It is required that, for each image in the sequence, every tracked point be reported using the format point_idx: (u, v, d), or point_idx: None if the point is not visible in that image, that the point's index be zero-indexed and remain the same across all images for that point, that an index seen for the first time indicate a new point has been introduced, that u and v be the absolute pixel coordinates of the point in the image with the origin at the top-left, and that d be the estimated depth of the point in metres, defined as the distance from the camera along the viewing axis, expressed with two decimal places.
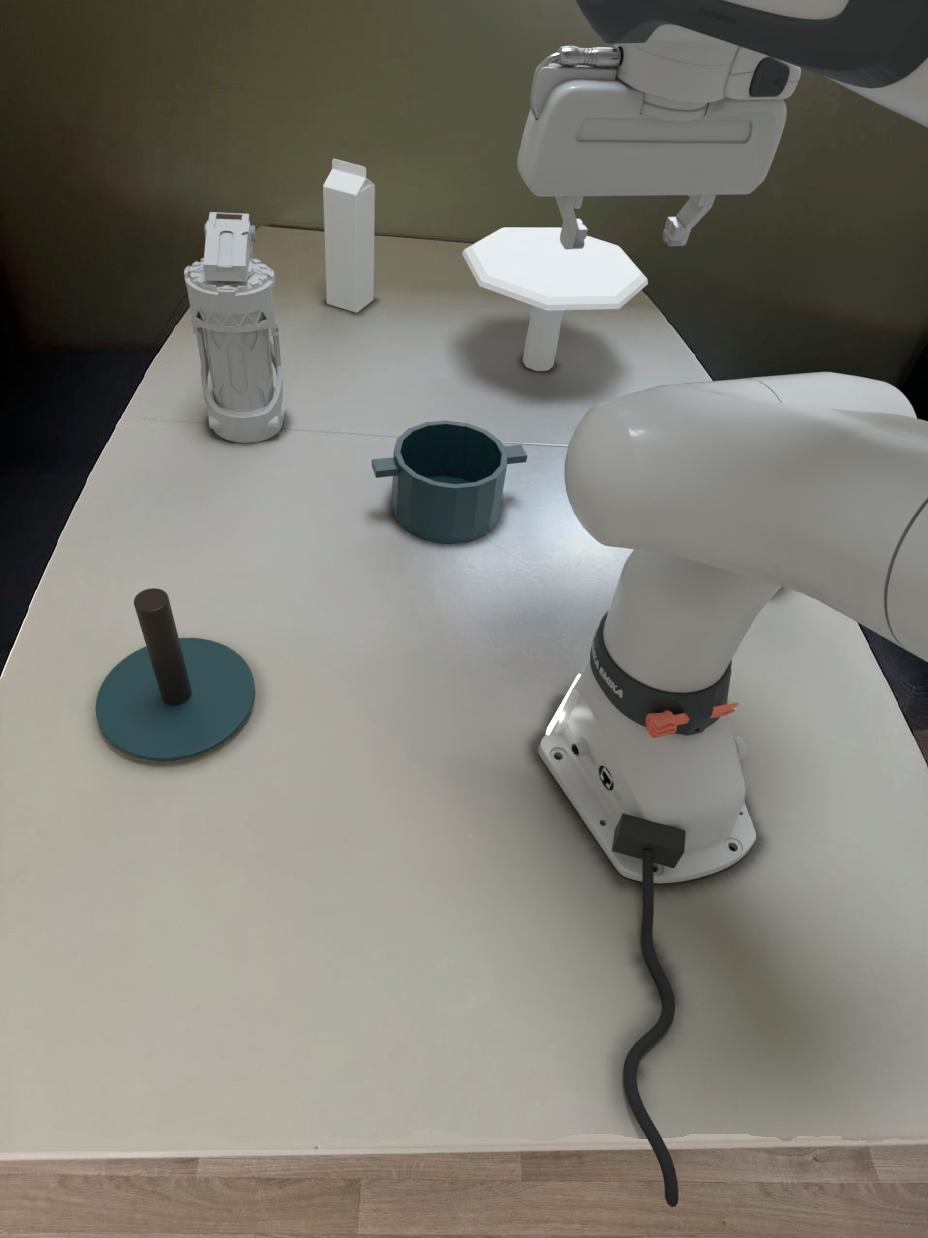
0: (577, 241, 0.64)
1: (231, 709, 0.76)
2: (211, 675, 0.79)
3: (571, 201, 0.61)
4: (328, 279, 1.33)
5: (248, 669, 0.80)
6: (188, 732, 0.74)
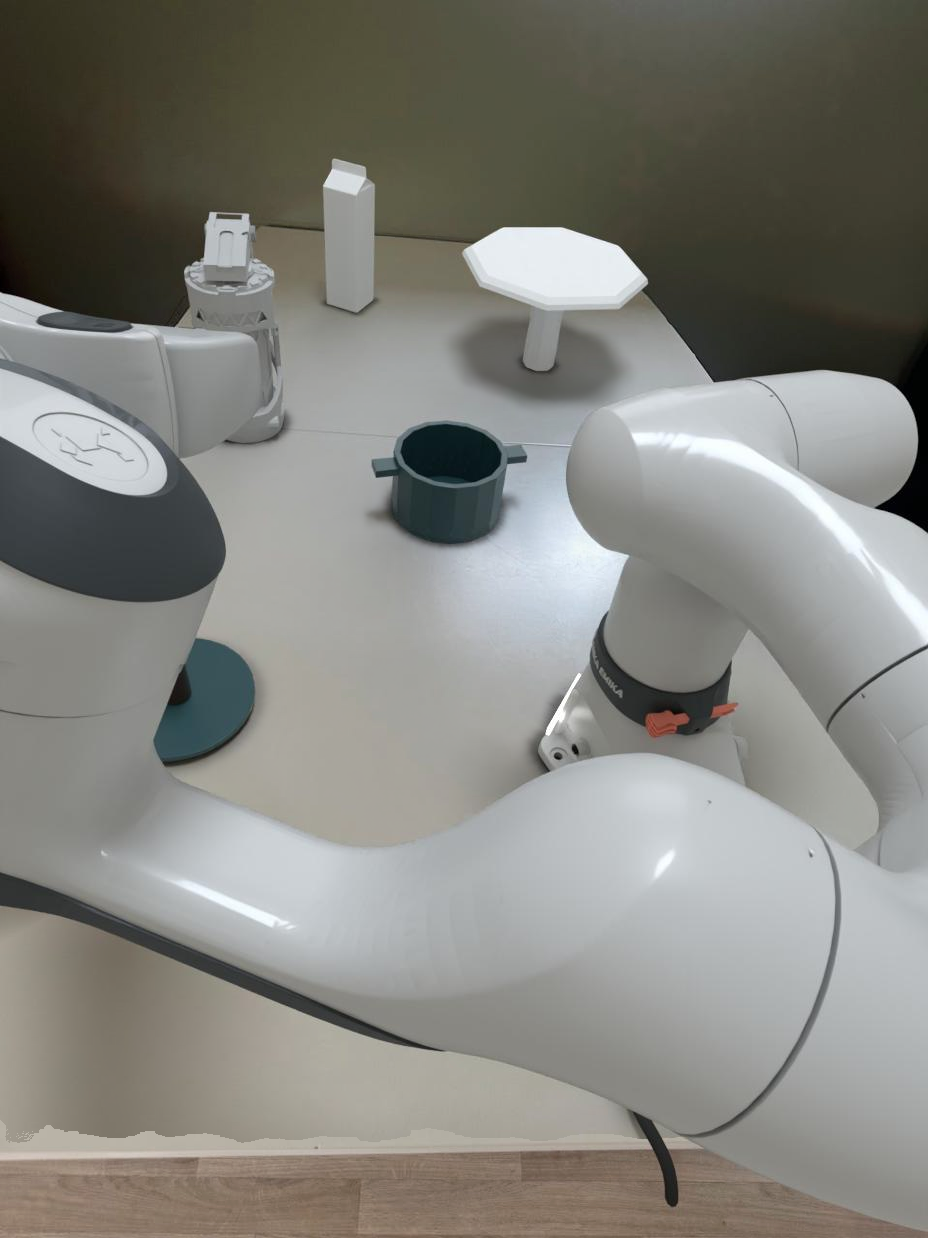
0: None
1: (231, 709, 0.76)
2: (211, 675, 0.79)
3: None
4: (328, 279, 1.33)
5: (248, 669, 0.80)
6: (188, 732, 0.74)
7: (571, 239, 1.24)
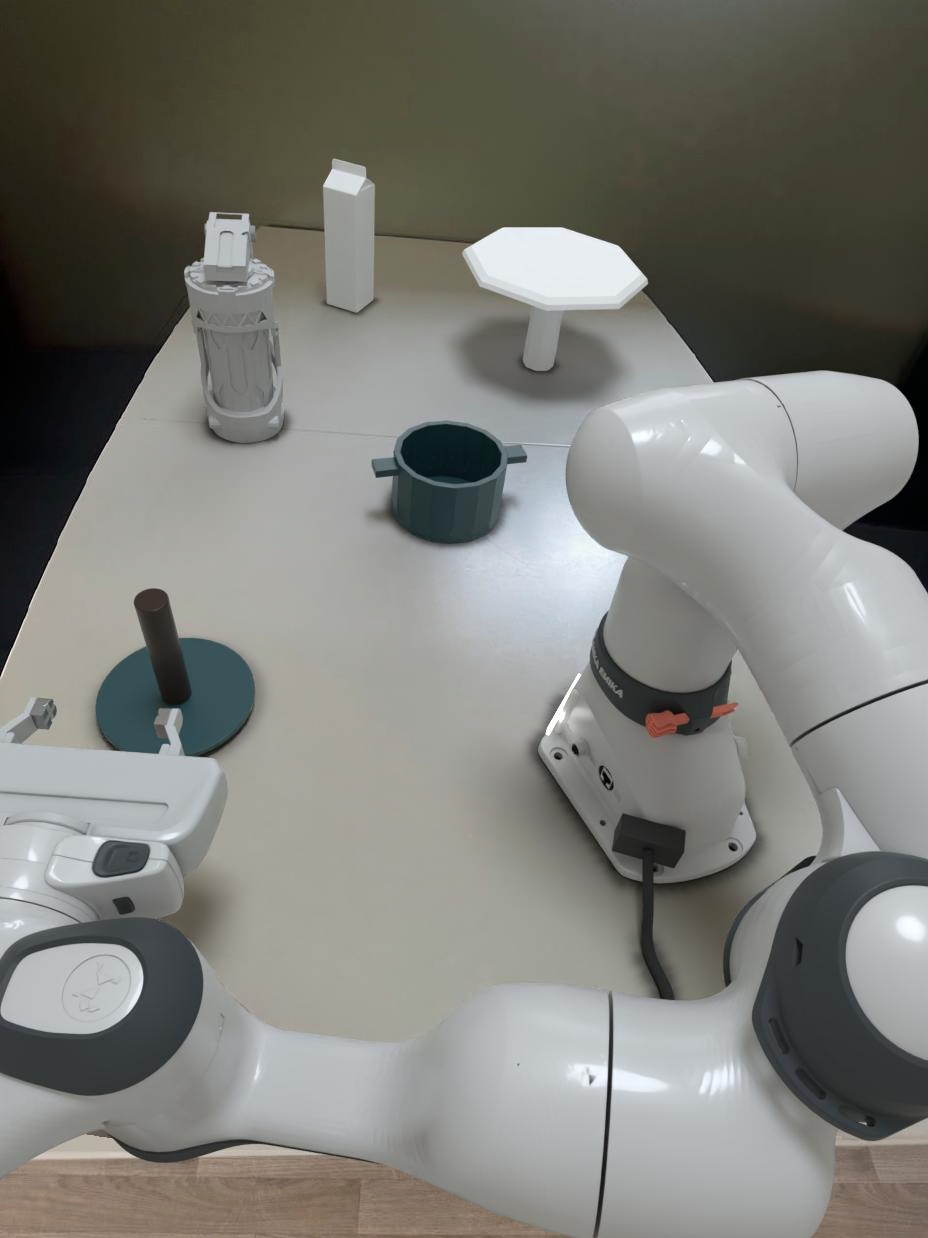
0: None
1: (231, 709, 0.76)
2: (211, 675, 0.79)
3: None
4: (328, 279, 1.33)
5: (248, 669, 0.80)
6: (188, 732, 0.74)
7: (571, 239, 1.24)
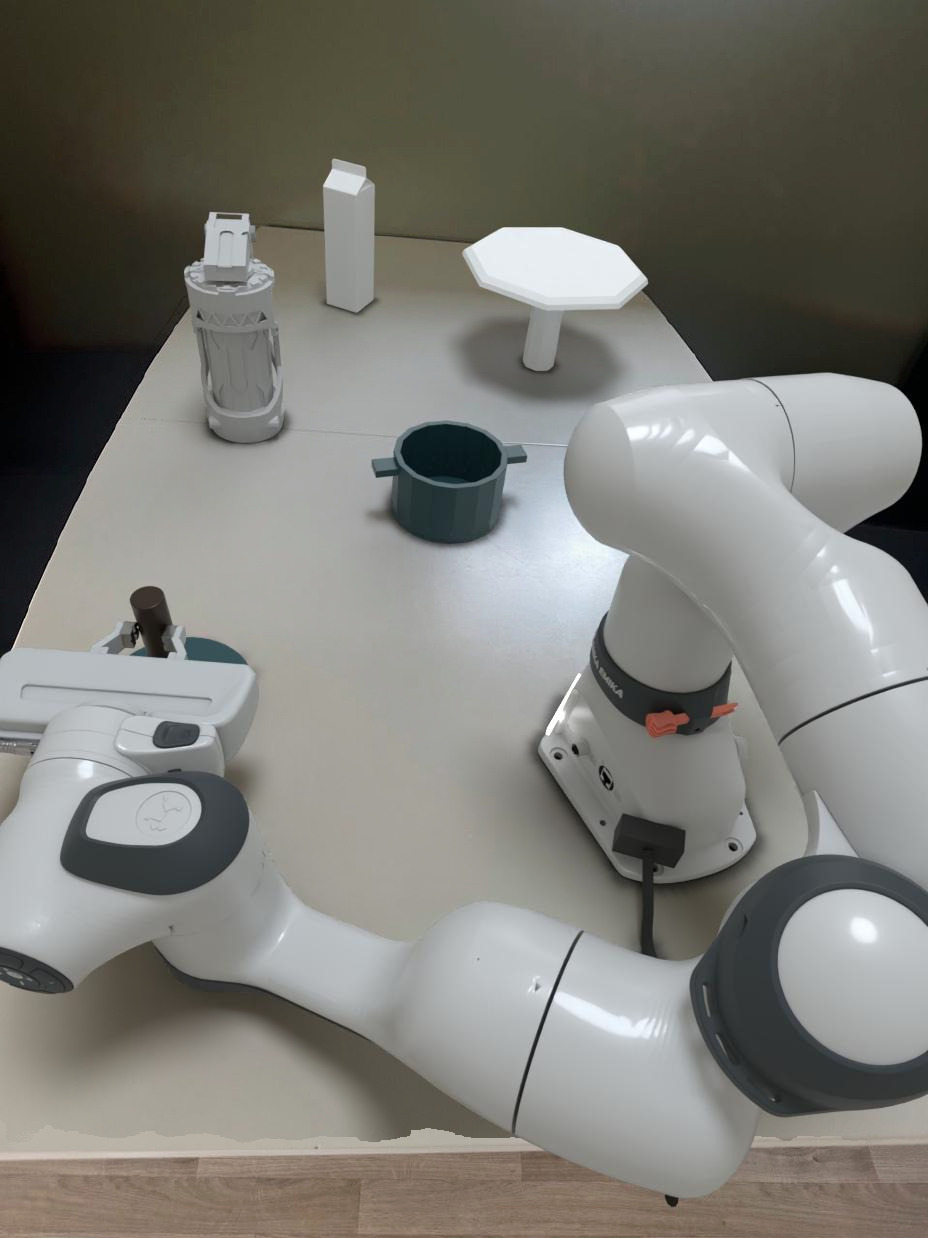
0: None
1: None
2: None
3: None
4: (328, 279, 1.33)
5: None
6: None
7: (571, 239, 1.24)
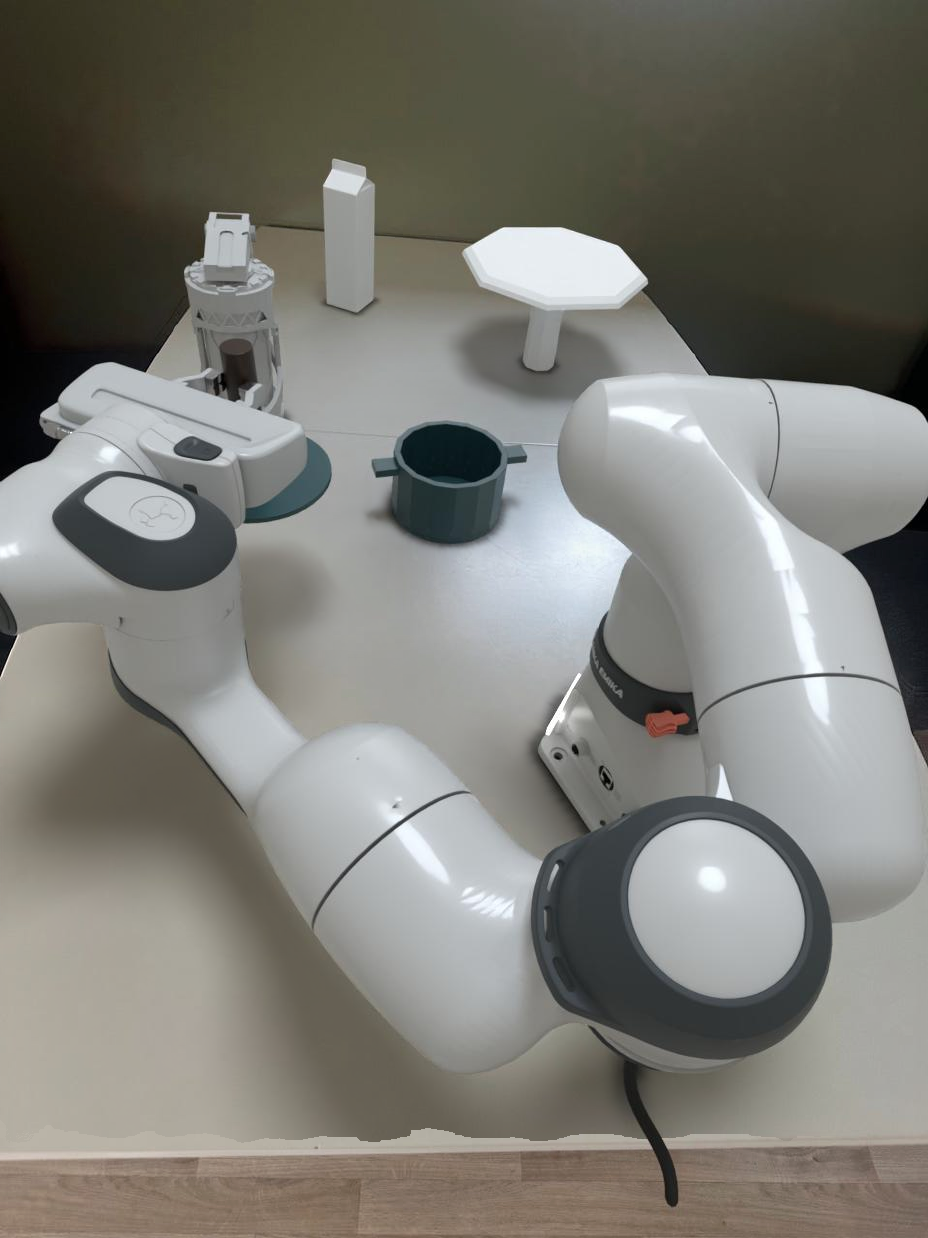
0: None
1: (298, 493, 0.76)
2: None
3: None
4: (328, 279, 1.33)
5: (329, 466, 0.79)
6: None
7: (571, 239, 1.24)
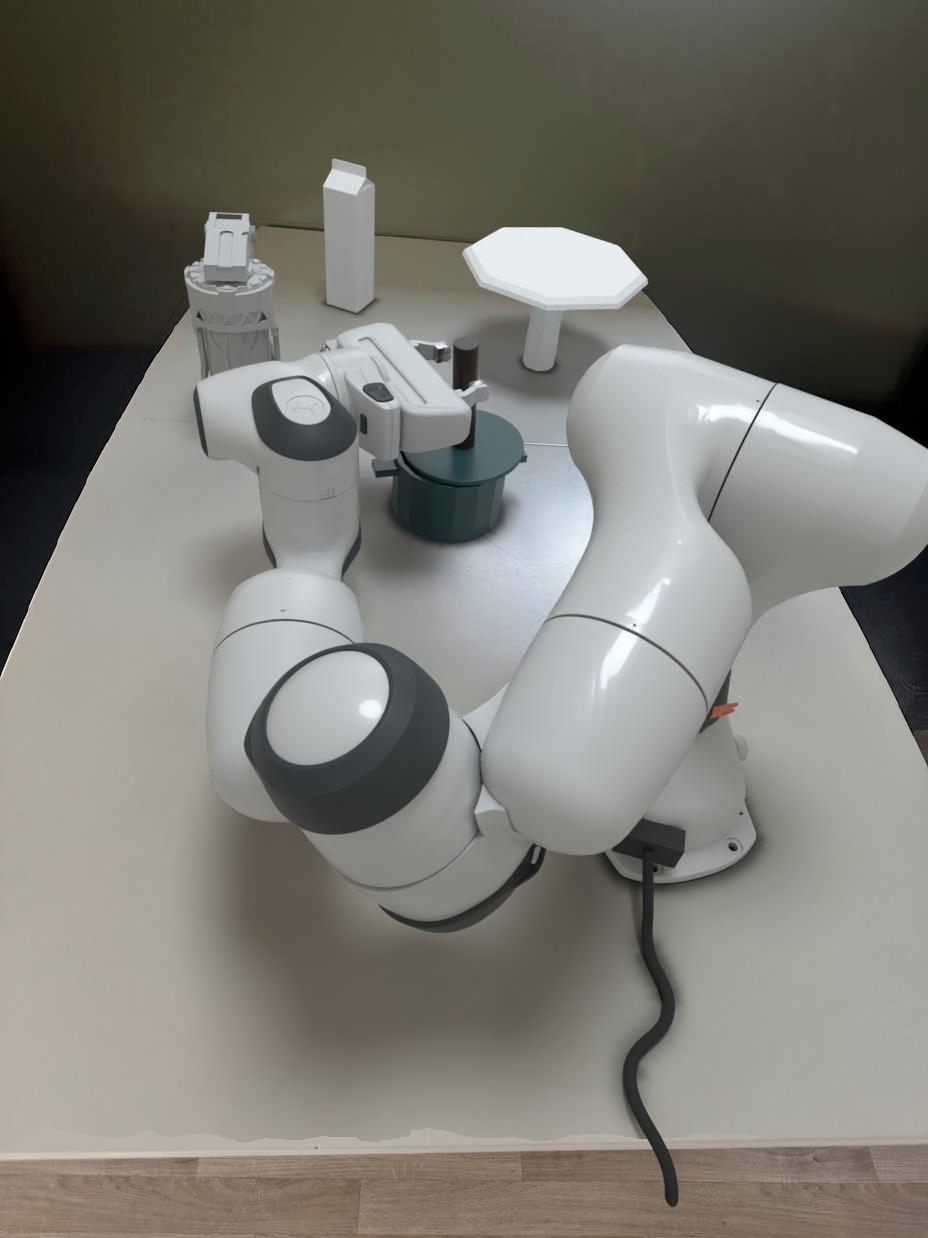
0: None
1: (477, 471, 0.92)
2: (493, 448, 0.95)
3: None
4: (328, 279, 1.33)
5: (516, 461, 0.93)
6: (441, 463, 0.93)
7: (571, 239, 1.24)
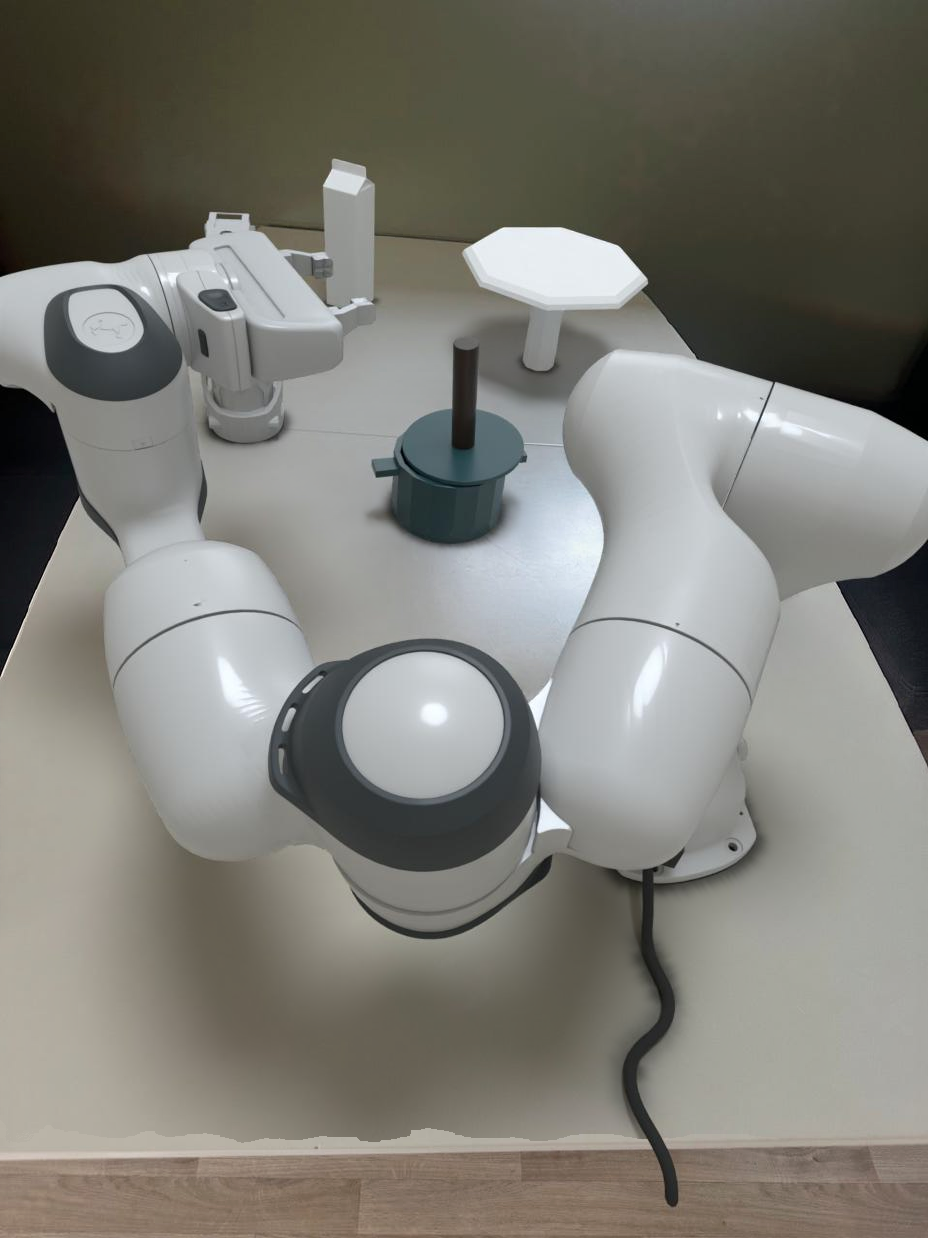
0: None
1: (477, 471, 0.92)
2: (493, 448, 0.95)
3: None
4: (328, 279, 1.33)
5: (516, 461, 0.93)
6: (441, 463, 0.93)
7: (571, 239, 1.24)
